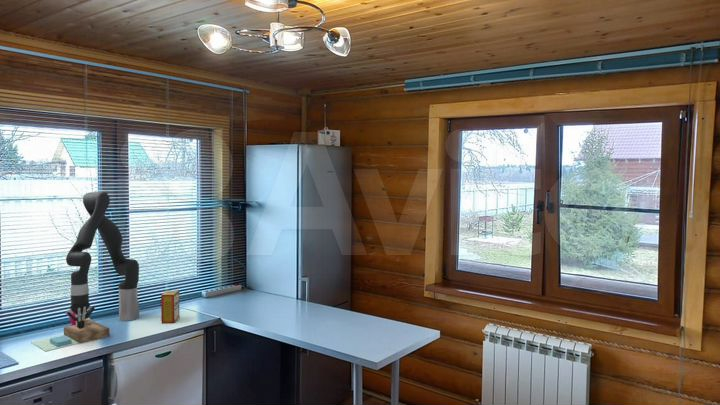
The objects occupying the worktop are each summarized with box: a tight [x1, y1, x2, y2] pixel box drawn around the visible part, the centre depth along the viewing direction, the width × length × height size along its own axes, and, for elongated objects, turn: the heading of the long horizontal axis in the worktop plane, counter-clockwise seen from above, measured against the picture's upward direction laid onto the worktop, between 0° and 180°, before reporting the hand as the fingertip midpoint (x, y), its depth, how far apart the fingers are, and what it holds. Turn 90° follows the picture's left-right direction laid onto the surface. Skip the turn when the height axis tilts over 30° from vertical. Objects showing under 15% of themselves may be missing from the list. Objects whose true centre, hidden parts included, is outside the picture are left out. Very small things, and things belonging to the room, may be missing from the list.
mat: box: [31, 334, 80, 352], centre depth 230 cm, size 14×18×1 cm
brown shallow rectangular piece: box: [63, 320, 111, 344], centre depth 241 cm, size 14×18×4 cm
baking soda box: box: [160, 290, 181, 325], centre depth 267 cm, size 10×6×16 cm
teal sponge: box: [49, 334, 72, 347], centre depth 230 cm, size 6×9×2 cm, turn 51°
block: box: [76, 317, 92, 326], centre depth 246 cm, size 5×5×3 cm
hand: (80, 328), depth 236 cm, fingers closed
